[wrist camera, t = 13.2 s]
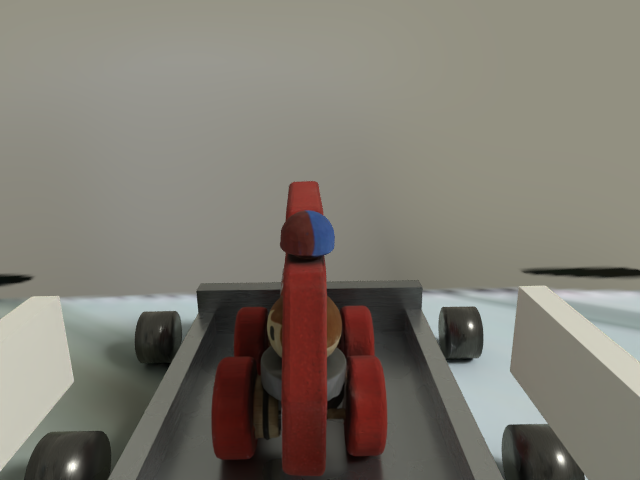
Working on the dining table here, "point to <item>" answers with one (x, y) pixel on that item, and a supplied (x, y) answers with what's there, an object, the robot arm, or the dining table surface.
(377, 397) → the red plastic toy vehicle
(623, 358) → the robot arm
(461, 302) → the dining table surface
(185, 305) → the dining table surface
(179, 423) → the chassis bay
